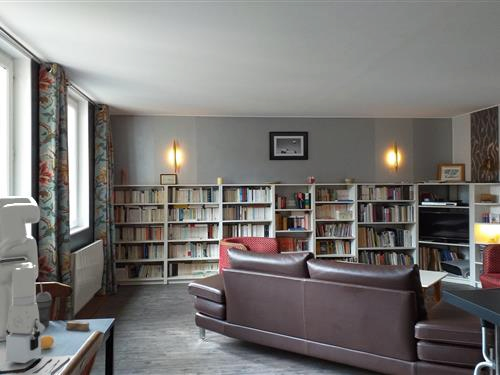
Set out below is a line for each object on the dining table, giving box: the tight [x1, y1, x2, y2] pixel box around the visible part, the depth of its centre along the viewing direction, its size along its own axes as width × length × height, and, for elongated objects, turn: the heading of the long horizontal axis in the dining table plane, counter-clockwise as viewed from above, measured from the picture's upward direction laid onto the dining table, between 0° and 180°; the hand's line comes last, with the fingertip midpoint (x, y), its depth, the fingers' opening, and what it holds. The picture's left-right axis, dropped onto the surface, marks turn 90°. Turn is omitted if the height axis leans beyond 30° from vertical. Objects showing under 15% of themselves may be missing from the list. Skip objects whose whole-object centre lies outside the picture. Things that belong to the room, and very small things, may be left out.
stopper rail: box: [66, 320, 90, 331], centre depth 171 cm, size 10×2×3 cm, turn 78°
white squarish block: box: [5, 332, 42, 364], centre depth 139 cm, size 8×8×9 cm
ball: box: [41, 334, 55, 350], centre depth 151 cm, size 5×5×5 cm
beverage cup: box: [36, 281, 53, 327], centre depth 176 cm, size 7×7×20 cm
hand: (24, 348), depth 140 cm, fingers closed on white squarish block, 7 cm apart
